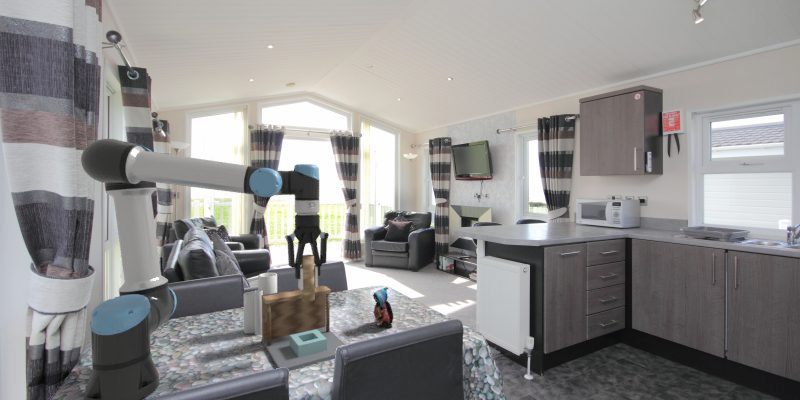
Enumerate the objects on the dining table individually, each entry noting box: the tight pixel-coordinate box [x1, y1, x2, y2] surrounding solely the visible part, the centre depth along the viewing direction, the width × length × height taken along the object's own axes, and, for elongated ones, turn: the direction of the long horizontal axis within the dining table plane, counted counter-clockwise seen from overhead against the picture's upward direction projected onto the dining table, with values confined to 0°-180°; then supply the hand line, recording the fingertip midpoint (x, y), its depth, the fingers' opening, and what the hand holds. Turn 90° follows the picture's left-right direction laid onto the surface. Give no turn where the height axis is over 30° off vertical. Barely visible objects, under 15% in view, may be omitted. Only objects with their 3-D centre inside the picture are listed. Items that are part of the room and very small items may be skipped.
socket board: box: [261, 327, 347, 372], centre depth 116 cm, size 22×24×4 cm
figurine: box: [372, 286, 394, 329], centre depth 134 cm, size 10×7×15 cm
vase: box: [243, 272, 278, 336], centre depth 129 cm, size 11×7×20 cm, turn 123°
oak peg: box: [301, 254, 315, 302], centre depth 112 cm, size 4×4×14 cm
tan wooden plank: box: [261, 285, 332, 346], centre depth 123 cm, size 22×6×16 cm, turn 123°
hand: (308, 287), depth 113 cm, fingers closed on oak peg, 4 cm apart
